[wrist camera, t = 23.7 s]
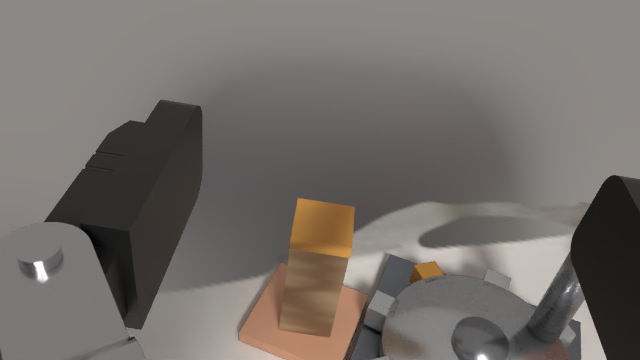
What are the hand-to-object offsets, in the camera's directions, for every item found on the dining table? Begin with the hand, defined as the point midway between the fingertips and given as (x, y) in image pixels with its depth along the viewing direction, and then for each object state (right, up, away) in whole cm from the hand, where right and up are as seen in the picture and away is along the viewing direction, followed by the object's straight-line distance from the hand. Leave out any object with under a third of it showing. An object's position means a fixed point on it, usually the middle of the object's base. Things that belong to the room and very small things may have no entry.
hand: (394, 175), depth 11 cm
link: (-2, -11, +33) cm, 35 cm away
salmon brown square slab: (-3, -11, +33) cm, 35 cm away
